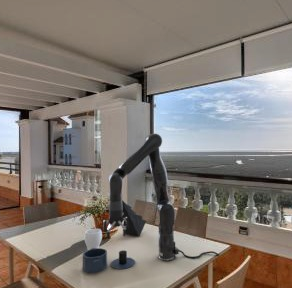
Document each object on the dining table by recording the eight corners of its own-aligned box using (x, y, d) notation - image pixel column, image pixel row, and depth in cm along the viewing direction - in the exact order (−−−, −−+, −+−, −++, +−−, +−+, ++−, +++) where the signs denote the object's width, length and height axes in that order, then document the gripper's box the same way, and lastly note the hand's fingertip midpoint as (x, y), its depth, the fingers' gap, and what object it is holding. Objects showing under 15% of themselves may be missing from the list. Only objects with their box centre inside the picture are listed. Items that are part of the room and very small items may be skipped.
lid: (131, 257, 147) (131, 245, 148) (137, 267, 135) (137, 254, 135) (108, 261, 142) (108, 249, 142) (113, 272, 130) (112, 259, 130)
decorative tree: (124, 237, 190) (107, 206, 172) (132, 222, 202) (118, 191, 183) (141, 240, 184) (125, 208, 166) (148, 224, 196) (134, 192, 178)
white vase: (88, 251, 157) (87, 228, 157) (104, 251, 156) (104, 228, 157) (81, 259, 146) (81, 233, 146) (99, 259, 146) (98, 233, 146)
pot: (104, 259, 145) (104, 245, 145) (109, 273, 129) (109, 257, 129) (81, 263, 140) (81, 248, 140) (84, 278, 124) (84, 261, 124)
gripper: (126, 205, 144) (127, 233, 144) (102, 208, 139) (102, 237, 139) (129, 208, 138) (130, 237, 137) (104, 211, 132) (104, 241, 132)
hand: (116, 237), depth 138 cm, fingers open, 8 cm apart
